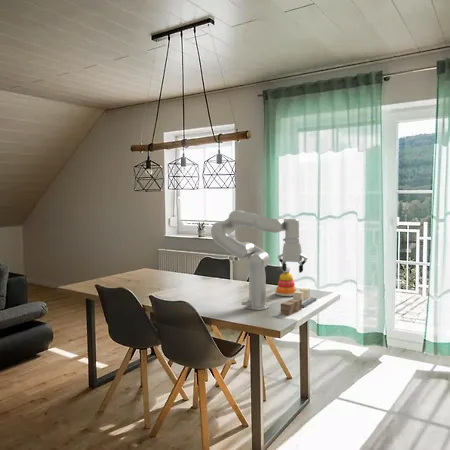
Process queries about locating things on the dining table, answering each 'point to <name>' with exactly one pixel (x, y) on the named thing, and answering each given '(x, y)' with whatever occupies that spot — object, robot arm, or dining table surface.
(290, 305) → the walnut beam
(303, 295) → the plate
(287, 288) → the stacking toy
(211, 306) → the dining table surface
